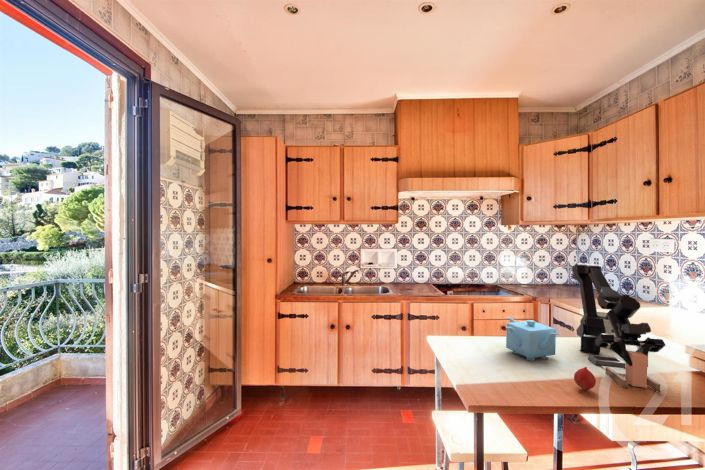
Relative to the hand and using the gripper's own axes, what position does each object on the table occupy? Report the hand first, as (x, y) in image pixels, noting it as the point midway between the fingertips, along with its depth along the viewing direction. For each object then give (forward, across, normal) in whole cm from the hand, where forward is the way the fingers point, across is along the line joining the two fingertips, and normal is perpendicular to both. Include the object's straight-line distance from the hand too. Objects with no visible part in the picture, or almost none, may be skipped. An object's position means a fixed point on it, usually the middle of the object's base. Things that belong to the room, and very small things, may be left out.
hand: (639, 366), depth 106 cm
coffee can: (-27, +11, +38) cm, 48 cm away
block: (+4, 0, +6) cm, 7 cm away
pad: (-4, 0, +14) cm, 15 cm away
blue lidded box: (-9, -28, +20) cm, 36 cm away
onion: (+10, -19, 0) cm, 22 cm away
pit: (-9, 0, +19) cm, 21 cm away
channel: (+2, 0, +8) cm, 8 cm away
